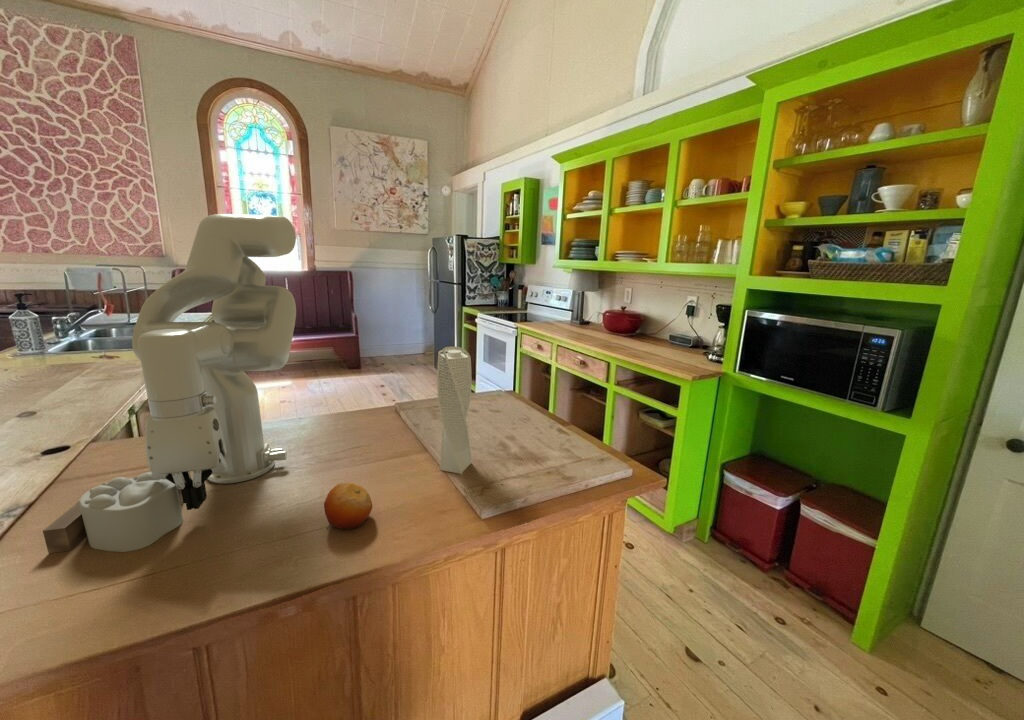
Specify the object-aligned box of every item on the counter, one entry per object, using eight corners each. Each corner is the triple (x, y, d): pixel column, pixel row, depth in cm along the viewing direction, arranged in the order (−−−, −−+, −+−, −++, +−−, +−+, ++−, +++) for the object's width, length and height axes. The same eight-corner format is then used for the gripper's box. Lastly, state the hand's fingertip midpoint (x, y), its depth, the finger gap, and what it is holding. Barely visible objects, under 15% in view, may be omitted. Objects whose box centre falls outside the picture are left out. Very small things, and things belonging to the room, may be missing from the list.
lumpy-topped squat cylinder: (135, 554, 68) (124, 504, 66) (66, 544, 70) (53, 496, 68) (192, 516, 78) (185, 472, 76) (131, 509, 80) (121, 465, 78)
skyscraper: (463, 478, 93) (461, 349, 86) (432, 472, 95) (428, 346, 89) (478, 462, 100) (477, 341, 94) (448, 457, 102) (446, 339, 96)
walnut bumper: (184, 500, 83) (181, 481, 82) (153, 539, 72) (148, 517, 71) (96, 511, 79) (91, 491, 78) (48, 553, 68) (42, 530, 67)
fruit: (322, 503, 80) (343, 468, 79) (362, 522, 82) (382, 488, 80) (306, 530, 72) (328, 492, 71) (350, 550, 74) (372, 513, 73)
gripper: (237, 394, 77) (250, 488, 82) (137, 401, 73) (156, 499, 78) (223, 408, 70) (238, 511, 75) (110, 416, 66) (133, 524, 71)
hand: (196, 505), depth 76 cm, fingers closed
